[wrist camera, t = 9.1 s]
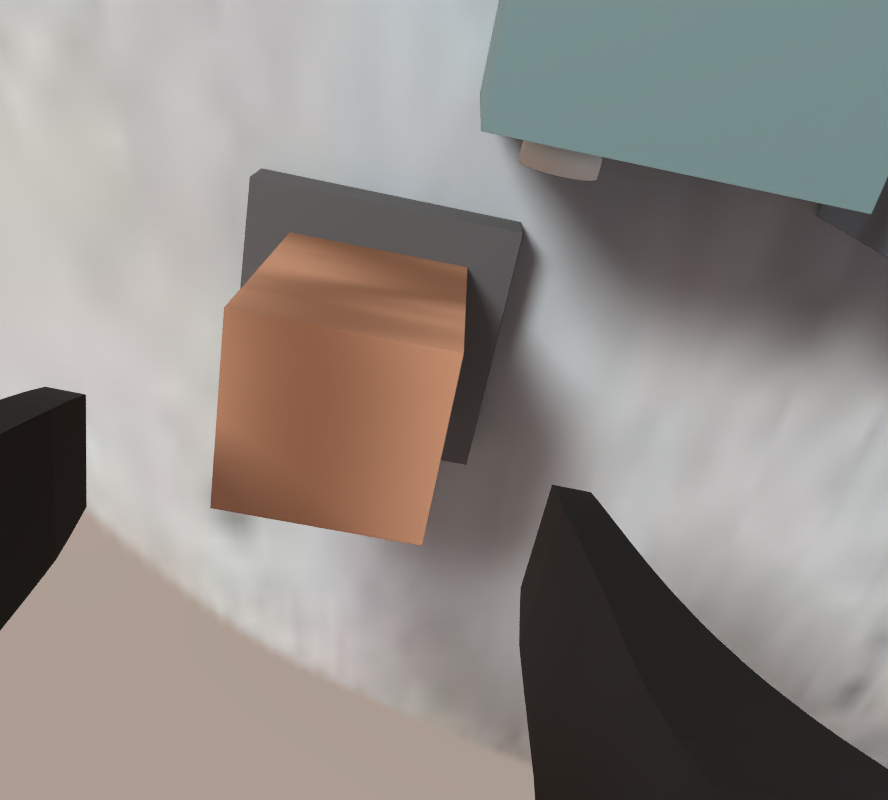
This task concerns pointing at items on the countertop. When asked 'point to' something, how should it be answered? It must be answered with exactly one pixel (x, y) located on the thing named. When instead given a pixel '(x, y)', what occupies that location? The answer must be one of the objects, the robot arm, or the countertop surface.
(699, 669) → the robot arm
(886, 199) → the slate block
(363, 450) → the terracotta block
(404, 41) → the countertop surface
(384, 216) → the mat
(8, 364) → the countertop surface
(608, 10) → the box
